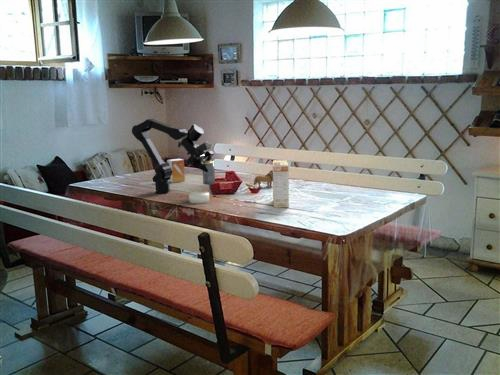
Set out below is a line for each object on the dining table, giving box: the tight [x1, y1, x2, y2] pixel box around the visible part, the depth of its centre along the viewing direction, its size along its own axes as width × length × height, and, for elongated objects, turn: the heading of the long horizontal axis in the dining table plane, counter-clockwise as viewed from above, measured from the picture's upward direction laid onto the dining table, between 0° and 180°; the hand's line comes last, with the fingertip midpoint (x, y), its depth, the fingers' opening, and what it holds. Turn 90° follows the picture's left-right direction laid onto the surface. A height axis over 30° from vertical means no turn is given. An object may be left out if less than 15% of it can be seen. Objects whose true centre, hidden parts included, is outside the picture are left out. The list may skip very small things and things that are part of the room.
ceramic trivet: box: [188, 190, 211, 204], centre depth 240 cm, size 10×10×4 cm
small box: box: [166, 158, 186, 184], centre depth 289 cm, size 8×6×13 cm
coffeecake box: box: [272, 159, 290, 208], centre depth 229 cm, size 15×7×20 cm, turn 178°
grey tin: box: [202, 160, 216, 186], centre depth 246 cm, size 6×6×11 cm
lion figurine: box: [253, 169, 273, 189], centre depth 268 cm, size 15×5×9 cm, turn 117°
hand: (210, 170), depth 245 cm, fingers closed on grey tin, 6 cm apart
